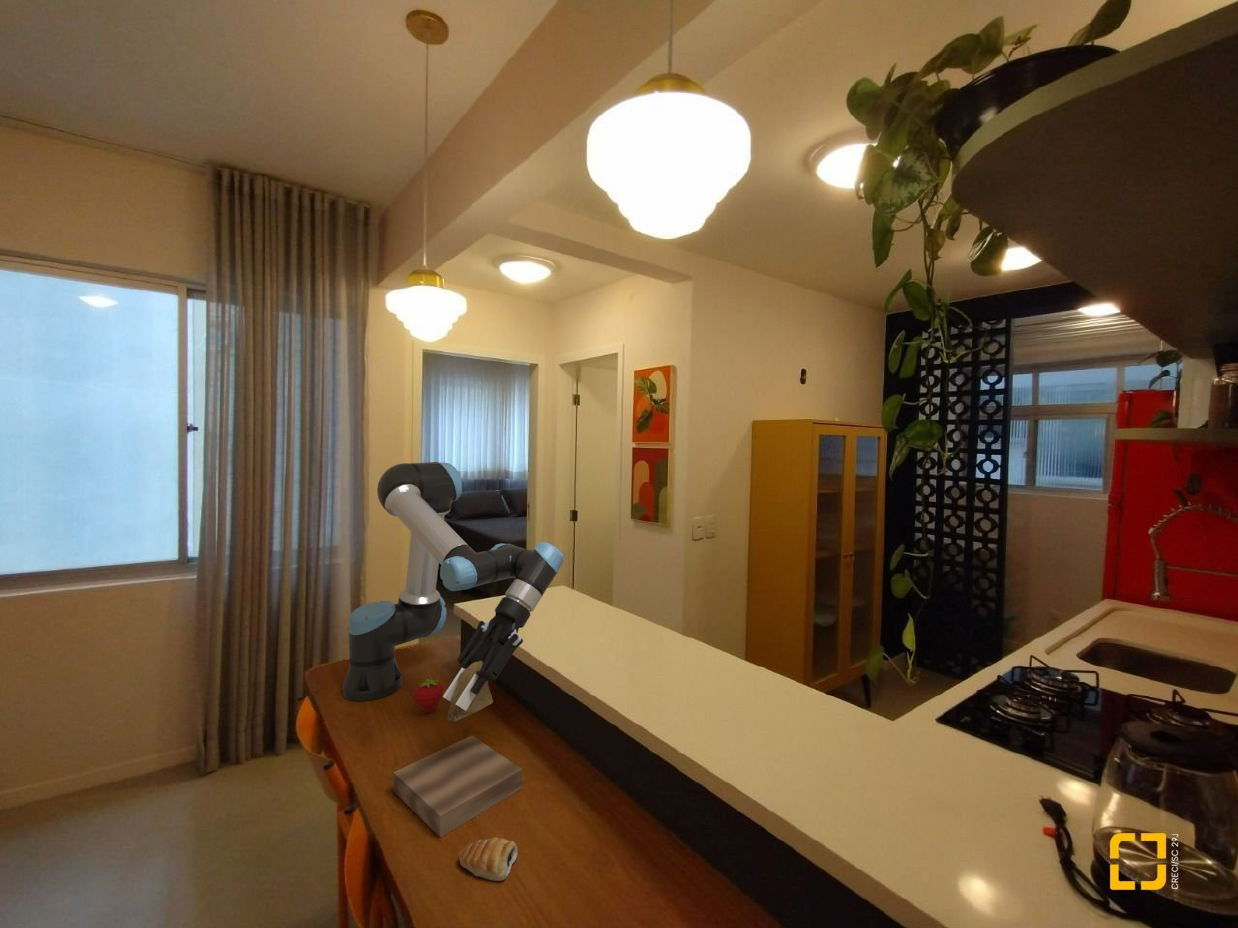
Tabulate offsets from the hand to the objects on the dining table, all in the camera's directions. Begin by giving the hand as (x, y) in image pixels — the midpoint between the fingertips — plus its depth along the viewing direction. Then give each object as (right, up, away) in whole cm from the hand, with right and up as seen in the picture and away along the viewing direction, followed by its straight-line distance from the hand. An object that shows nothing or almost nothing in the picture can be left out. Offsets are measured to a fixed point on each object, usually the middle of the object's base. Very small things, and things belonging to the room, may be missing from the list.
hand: (454, 703), depth 107 cm
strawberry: (-15, -15, +28) cm, 35 cm away
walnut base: (+1, -17, -2) cm, 17 cm away
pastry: (+12, -18, -20) cm, 30 cm away
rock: (+3, -3, +3) cm, 5 cm away
